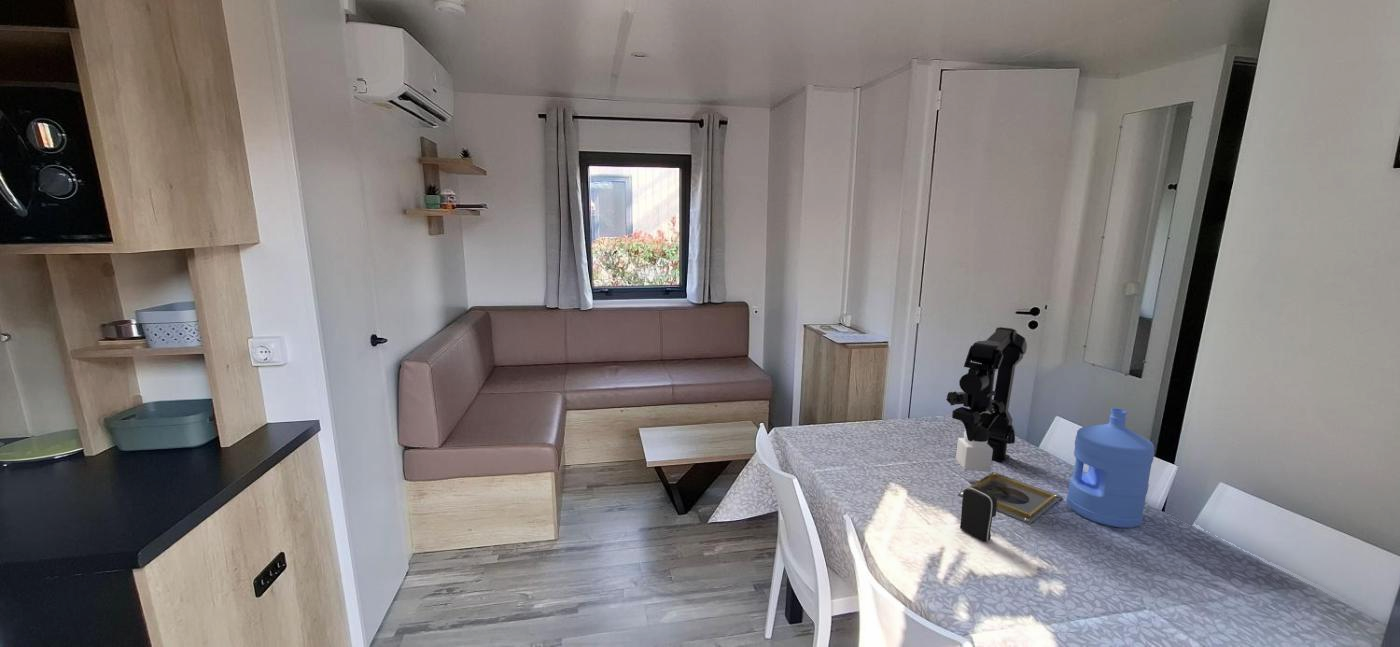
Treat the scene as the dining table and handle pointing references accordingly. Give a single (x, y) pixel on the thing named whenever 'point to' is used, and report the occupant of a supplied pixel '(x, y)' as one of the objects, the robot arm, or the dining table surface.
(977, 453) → the medicine bottle
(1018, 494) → the lid
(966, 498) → the battery charger
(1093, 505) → the water jug
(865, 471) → the dining table surface
